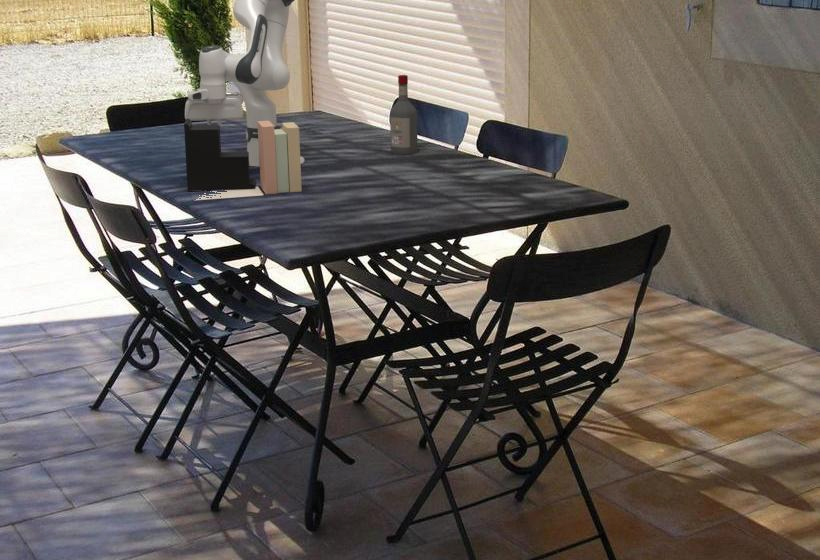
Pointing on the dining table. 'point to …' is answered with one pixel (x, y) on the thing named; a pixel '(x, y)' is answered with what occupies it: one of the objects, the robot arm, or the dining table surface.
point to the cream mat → (233, 193)
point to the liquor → (403, 122)
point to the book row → (279, 157)
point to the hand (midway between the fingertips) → (214, 132)
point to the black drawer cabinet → (213, 161)
